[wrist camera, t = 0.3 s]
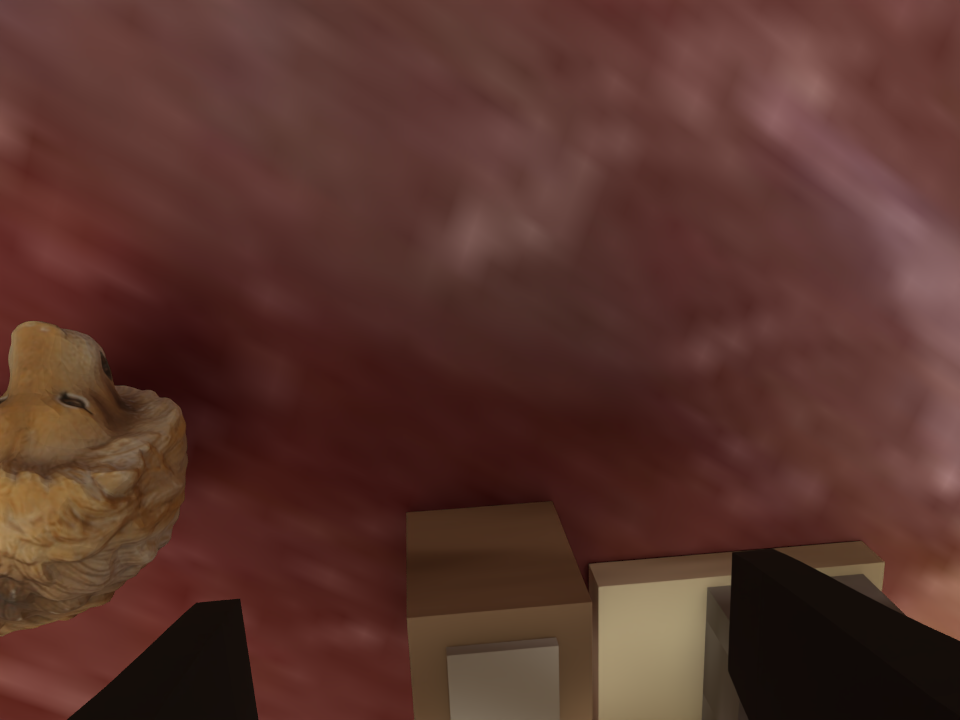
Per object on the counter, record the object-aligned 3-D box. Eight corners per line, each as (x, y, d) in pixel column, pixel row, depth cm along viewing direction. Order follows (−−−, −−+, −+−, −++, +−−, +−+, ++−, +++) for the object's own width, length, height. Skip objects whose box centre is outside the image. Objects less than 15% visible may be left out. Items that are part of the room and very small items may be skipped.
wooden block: (554, 626, 24) (595, 764, 18) (415, 639, 23) (418, 782, 18) (552, 500, 22) (595, 609, 17) (405, 511, 22) (406, 626, 17)
